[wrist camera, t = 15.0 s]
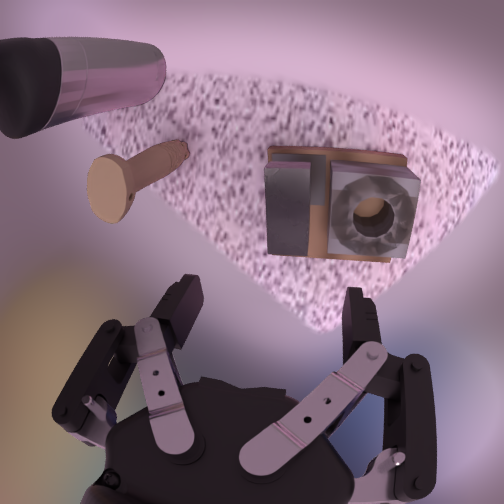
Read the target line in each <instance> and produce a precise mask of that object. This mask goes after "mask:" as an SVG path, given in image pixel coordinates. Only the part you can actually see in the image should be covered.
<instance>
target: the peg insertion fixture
mask: <svg viewBox="0 0 504 504" xmlns="http://www.w3.org/2000/svg"><path fill="white" fill-rule="evenodd" d="M407 159H408V158H406V157H405V156H404V155H402V154H394V153H386V152H377V151H367V150H356V149H344V148H328V147H303V146H270V147H269V148H268V163H269V162H270V161H280V162H311V191H310V229H309V247H308V257H310V258H325V259H340V260H355V261H370V262H385V263H390V261H391V258H405V257H406V253H407V249H408V245H409V241H410V237H411V232H412V228H413V223H414V218H415V213H416V208H417V202H418V196H419V190H420V183H421V180H420V179H419V178H418V177H417V176H416V175H415V174H414V173H413V172H412V171H411V170H410V169H408V168H407ZM272 255H275V254H272ZM280 256H290V255H280ZM295 257H305V256H295Z"/></svg>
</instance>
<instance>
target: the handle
mask: <svg viewBox="0 0 504 504" xmlns="http://www.w3.org/2000/svg"><path fill="white" fill-rule="evenodd" d="M188 156H189V152H188V150H187V144H186V143H185V142H180V141H179V140H172V141H168V142H163V143H160V144H157V145H154V146H152V147H150V148H148V149H146V150H144V151H143V152H141V153H139V154H137V155H136V156H134V157H132V158H130V159H128V160H127V161H125V160H124V159H123V158H121V157H120V156H117V155H114V154H106V155H103V156H101V157H98V158H96V159H94V161H93V163H92V165H91V167H90V170H89V172H88V178H87V194H88V199H89V202H90V205H91V208H92V211H93V212H94V214H95V215H96V216H97V217H98V218H100V219H101V220H103V221H105V222H107V223H111V224H114V223H118V222H119V221H120V220H121V219H122V218H123V217H124V216H125V215H126V214H127V212H128V211H129V209H130V207H131V205H132V203H133V201H134V198H135V194H136V192H137V191H139V190H141V189H143V188H144V187H146V186H148V185H150V184H152V183H154V182H156V181H158V180H160V179H162V178H164V177H165V176H167V175H168V174H170V173H171V172H173V171H174V170H175V169H176V168H178V167H179V166H180V165H181V164H182V162H183V161H184V160H185V159H187V158H188Z"/></svg>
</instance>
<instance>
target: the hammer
mask: <svg viewBox="0 0 504 504" xmlns="http://www.w3.org/2000/svg"><path fill="white" fill-rule="evenodd" d="M264 175H265V197H266V221H267V247H268V254H275V255H290V256H305V257H308V247H309V229H310V191H311V162H280V161H270V162H269V163H268V164H267V165H266V166H265V168H264Z"/></svg>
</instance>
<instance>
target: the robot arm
mask: <svg viewBox="0 0 504 504" xmlns="http://www.w3.org/2000/svg"><path fill="white" fill-rule="evenodd" d="M165 76H166V62H165V59H164V56H163V54H162V53H161V51H160V50H159V49H158V48H157V47H155V46H154V45H151V44H147V43H140V42H134V41H127V40H118V39H108V38H91V37H49V38H10V39H3V40H0V130H1V132H2V133H3V134H4V135H5V136H7V137H9V138H12V139H18V138H22V137H25V136H28V135H30V134H33V133H36V132H38V131H41V130H44V129H47V128H49V127H53V126H55V125H59V124H62V123H65V122H68V121H71V120H74V119H78V118H82V117H86V116H89V115H93V114H97V113H101V112H106V111H110V110H115V109H120V108H125V107H130V106H135V105H140V104H144V103H146V102H148V101H149V100H151V99H152V98H153V97H154V96H155V95H156V94H157V93H158V92H159V90H160V89H161V87H162V85H163V82H164V80H165ZM203 301H204V296H203V291H202V287H201V283H200V278H199V276H198V275H192V274H185V275H184V276H183V277H182V279H181V280H180V282H175V283H174V284H173V285H172V286H170V287H169V288H168V289H167V291H166V293H165V295H164V296H163V297H162V300H160V302H159V303H158V305H157V306H156V308H155V309H154V311H153V313H152V314H151V316H150V317H147V318H143V319H141V320H140V321H138V322H137V323H136V325H135V326H122V325H121V323H120V322H119V321H118V320H115V319H112V320H108V321H106V322H104V323H103V324H102V325H101V327H100V328H99V330H98V331H97V333H96V334H95V336H94V337H93V339H92V341H91V342H90V344H89V345H88V347H87V349H86V350H85V352H84V354H83V355H82V357H81V358H80V360H79V362H78V363H77V365H76V367H75V368H74V370H73V372H72V373H71V375H70V377H69V379H68V380H67V382H66V384H65V386H64V388H63V389H62V391H61V393H60V395H59V396H58V398H57V400H56V402H55V404H54V406H53V408H52V417H53V420H54V421H55V422H56V423H58V424H59V425H60V426H61V427H63V428H64V429H65V430H66V431H67V432H68V433H70V434H71V435H72V436H74V437H75V438H77V439H78V440H81V441H82V442H84V443H85V444H87V445H88V446H98V447H100V448H103V449H105V451H106V462H105V469H104V471H103V473H102V475H101V476H100V477H99V479H98V480H97V481H96V482H94V483H93V484H92V485H91V486H90V487H89V488H88V489H87V490H86V492H85V494H84V496H83V498H82V500H81V503H80V504H374V503H380V504H404V503H408V502H411V501H415V500H418V499H421V498H424V497H426V496H427V495H428V494H430V493H431V492H432V490H433V489H434V487H435V484H436V473H437V472H436V471H437V436H436V417H435V405H434V395H433V387H432V379H431V372H430V365H429V363H428V361H427V359H426V358H425V357H423V356H422V355H419V354H410V355H408V356H407V357H406V358H405V359H404V358H400V357H397V356H393V355H391V354H389V353H388V352H387V350H386V348H385V347H384V346H383V345H382V342H381V336H380V330H379V323H378V317H377V312H376V306H375V304H374V302H373V301H372V300H371V298H363V293H362V288H357V287H347V291H346V296H345V301H344V306H343V311H342V335H343V366H342V367H341V368H340V369H339V370H338V371H337V372H332V373H331V374H330V375H329V376H328V377H327V378H325V379H324V381H322V382H321V384H319V385H318V386H317V387H316V388H315V389H314V390H313V391H312V392H311V393H310V394H309V395H308V396H307V397H305V398H304V399H303V400H302V401H301V402H299V401H297V400H295V399H294V398H292V397H289V396H286V390H285V389H276V388H268V387H259V388H246V389H241V388H238V387H235V386H233V385H231V384H228V383H226V382H224V381H221V380H217V379H212V378H207V377H201V379H200V381H199V382H194V383H189V384H185V385H183V382H182V380H181V377H180V374H179V372H178V369H177V366H176V363H175V360H174V357H173V354H172V351H173V349H174V348H176V349H180V350H181V349H182V347H183V345H184V343H185V341H186V339H187V337H188V335H189V333H190V331H191V329H192V326H193V324H194V322H195V320H196V318H197V316H198V314H199V312H200V310H201V308H202V306H203ZM113 355H114V357H113ZM112 357H113V358H112ZM111 358H112V360H111ZM110 360H111V362H110ZM109 362H110V364H109ZM137 363H138V368H139V372H140V377H141V381H142V386H143V390H144V394H145V398H146V402H147V407H145V408H143V409H142V410H140V411H138V412H136V413H135V414H133V415H131V416H129V417H128V418H126V419H124V420H122V421H120V422H119V423H117V422H116V420H117V414H116V412H115V409H116V407H117V405H118V403H119V400H120V398H121V396H122V394H123V391H124V389H125V388H126V385H127V383H128V381H129V379H130V377H131V375H132V373H133V371H134V369H135V366H136V364H137ZM108 364H109V366H108ZM367 393H371V394H374V395H377V396H381V397H384V434H383V450H382V452H381V453H380V454H379V455H377V456H376V457H375V458H373V459H372V460H371V461H370V462H369V464H368V466H367V470H366V472H365V474H364V475H363V476H362V477H361V478H354V476H353V474H352V472H351V470H350V469H349V467H348V466H347V465H346V464H345V462H344V461H343V459H342V458H341V456H340V455H339V454H338V452H337V451H336V450H335V448H334V447H333V445H332V444H331V443H330V441H329V440H328V438H329V437H330V436H331V435H332V434H333V433H334V432H335V431H336V430H337V429H338V427H339V426H340V425H341V424H342V423H343V422H344V420H345V419H346V418H347V417H348V415H349V414H350V413H351V412H352V411H353V410H354V409H355V407H356V406H357V405H358V404H359V403H360V402H361V400H362V399H363V398H364V397H365V396H366V394H367Z"/></svg>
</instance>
